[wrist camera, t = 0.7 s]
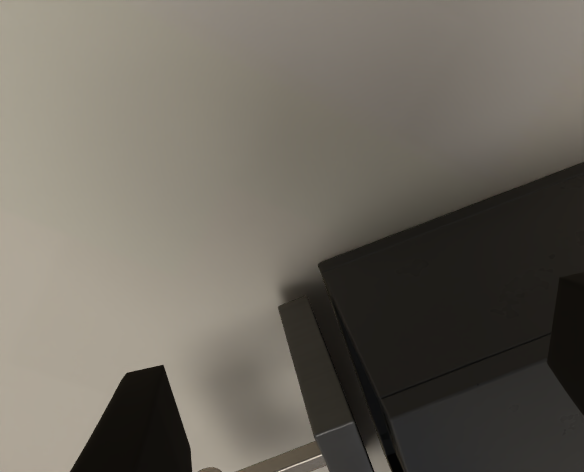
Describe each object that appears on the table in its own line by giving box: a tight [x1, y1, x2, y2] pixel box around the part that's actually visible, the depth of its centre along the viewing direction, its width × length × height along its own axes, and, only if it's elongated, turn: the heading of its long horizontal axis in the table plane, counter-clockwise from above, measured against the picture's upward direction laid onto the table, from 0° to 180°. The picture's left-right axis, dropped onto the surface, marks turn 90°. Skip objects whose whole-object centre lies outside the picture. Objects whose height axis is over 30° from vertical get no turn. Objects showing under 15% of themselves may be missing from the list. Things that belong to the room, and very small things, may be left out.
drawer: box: [198, 296, 404, 472], centre depth 19 cm, size 18×11×6 cm, turn 108°
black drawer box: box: [318, 163, 584, 472], centre depth 19 cm, size 14×12×8 cm
